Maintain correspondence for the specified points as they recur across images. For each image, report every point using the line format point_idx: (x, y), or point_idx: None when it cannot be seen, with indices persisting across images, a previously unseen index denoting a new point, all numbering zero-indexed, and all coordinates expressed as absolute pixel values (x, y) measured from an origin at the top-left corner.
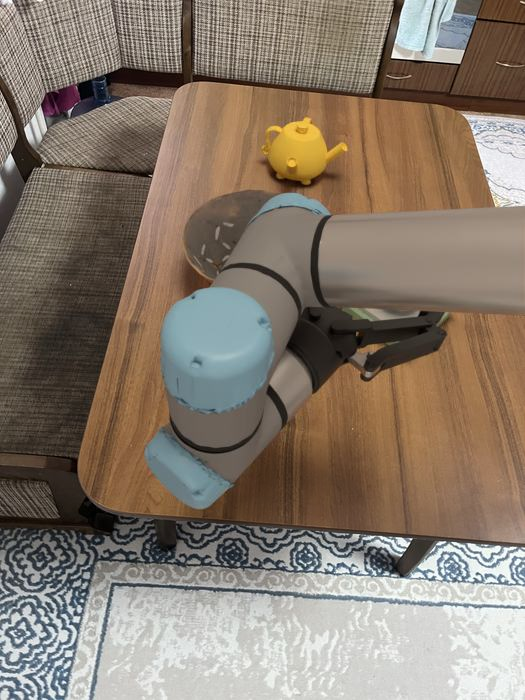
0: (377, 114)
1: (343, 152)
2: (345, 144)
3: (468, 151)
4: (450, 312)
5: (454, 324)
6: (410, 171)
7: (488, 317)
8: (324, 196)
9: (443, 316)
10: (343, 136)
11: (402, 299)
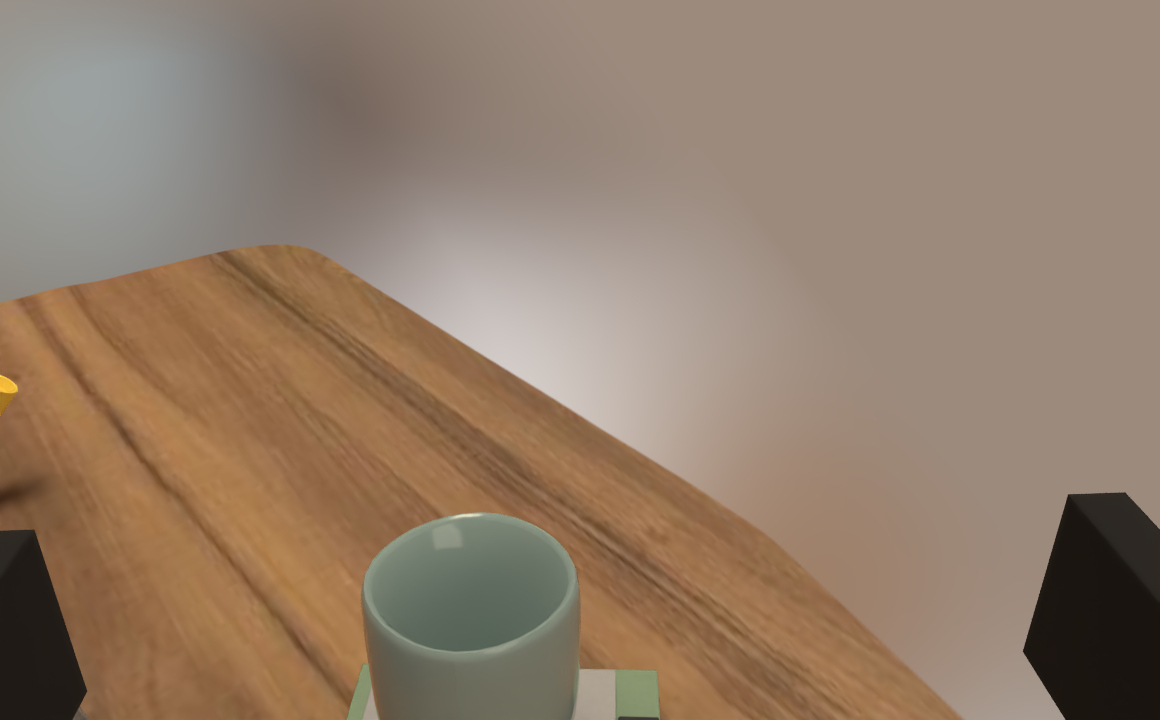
0: (87, 304)
1: (7, 400)
2: (2, 376)
3: (364, 288)
4: (657, 679)
5: (690, 708)
6: (254, 380)
7: (745, 621)
8: None
9: (653, 708)
10: None
11: None
